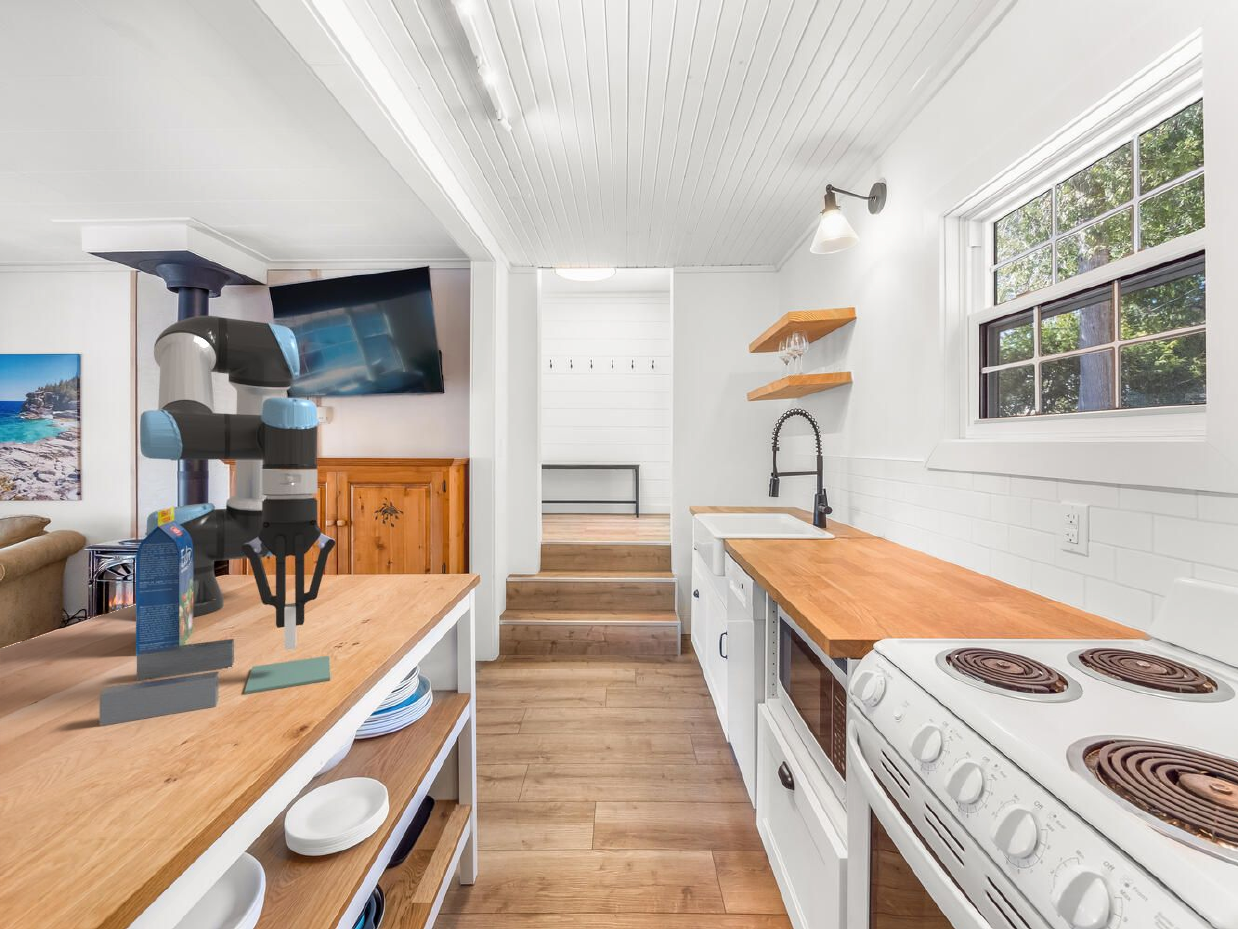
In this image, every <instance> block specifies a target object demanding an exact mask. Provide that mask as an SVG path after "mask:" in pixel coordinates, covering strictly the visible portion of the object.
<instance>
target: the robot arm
mask: <svg viewBox="0 0 1238 929" xmlns="http://www.w3.org/2000/svg"><path fill="white" fill-rule="evenodd" d="M153 348H154V349H153V356H154V360H155V362H156V364H157V365H158V367H159V382H158V383H159V385H158V387H159V388H158V406H157V407H158V408H157V410H146V411H143V412H142V413H141V414H140V421H139V425H140V426H139V440H140V441H139V443H140V452H141V453H140V454H142V456H143V457H145V458H148V459H157V460H170V461H178V460H179V461H180V460H182V461H183V460H185V461H186V460H187V461H188V460H192V461H193V460H195V461H196V460H202V461H203V460H207V461H208V460H227V461H228V460H229V461H230V460H232V461H233V460H235V462H234V463H235V465H234V466H235V467H234V469H235V471H234V494H233V495H232V496H230V497H229V498H227V499H226V504H225V507H226V508H219V509H218V508H216V506H215V505H214V503H212V502H206V503H205V502H204V503H195V504H186V505H180V506H173V507H174V520H175V521H176V522H177V523H178V524H179V525H181V526H182V527H183V528H184V529H185V530H186V531H187V532H188V533H189V534H190V536H191V539H192V542H193V618H194V617H198V616H204V615H207V613H208V614H211V613H214V612H217V611H219V610H221V609H222V607H223V608H224V594H223V592H222V590H221V587H220V585H219V583H218V581H217V578H216V575H215V562H217V561H230V560H231V561H232V560H239V559H240V560H242V559H248V560H249V562H250V566H251V569H252V573H253V576H254V579H255V583H256V587H257V590H258V593H259V597H260V600H261V603H262V605H265V606H267V605H268V606H273V607H274V608H275V625H276V627H277V629H278V628H279V629H280V628H284V651H286V650H294V649H296V648H297V626H303V625H304V623H305V605H306V604H307V603H308V602H311V601H313V600H314V601H315V600H316V599H317V597H318V594H319V590H320V586H321V583H322V579H323V575H324V571H325V568H326V563H327V560H328V557H329V553H331V551H332V549H333V548H334V547H335V545H336V539H335V538H334V537H329V536H327V535H325V534H324V533H322V529H321V528H320V526H319V523H318V499H317V498H316V497H314V495H316V494H317V493H318V425H319V419H318V410H317V408H318V407H317V404H316V403H315V402H314V401H312V400H309V399H303V398H294V397H283V394H284V393H285V392H287V391H289V389H291V387H292V386H291V385H292V380H293V381H295V380H298V379H299V377H300V370H301V368H300V367H301V366H300V355H299V348H298V344H297V339H296V336H295V334H294V332H293V330H292V329H291V328H289V327H287V326H284V325H280V324H274V323H270V322H261V321H253V320H244V319H236V318H229V317H222V316H221V317H220V316H217V315H215V316H214V315H197V316H192V317H188V318H185V319H182V320H179V321H176V322H175V323H173V324H171V325H169V326H168V327H167V328H165V329H164V330H163V331H162V332H160V334H159V336H158V337H157V338H156V340H155V343H154V347H153ZM212 373H218V374H228V383H229V384H230V385H231V386H232V387H233V388H234V389H235V391H236V412H235V413H219V412H218V413H217V412H216V411H215V402H214V388H213V378H212ZM164 509H165V508H164ZM164 509H163V508H161V509H158V510H155V511H153V512H151V513H149V515H148V517H147V519H146V532H145V534H144V535H145V536H146V537H147V536H148V535H149V534H150V533H151V532H152V531H153V530H154V529H155V528H157V527H158V511H160V510H164ZM317 540H318V548H319V549H320V550H319V553H318V557H317V561H316V565H315V568H314V572H313V575H312V579H311V584H310V587H309V591H307V592H305V555H306V554H307V553H308V552H309V551H310V550H311V548H312V547H313V545H314V544H315V543H316V541H317ZM271 556H272V557H273V556H274V557H275V594H274V595H273V593H272V590H271V588H270V584H269V581H268V576H267V573H266V570H265V567H264V563H263V561H262V560H263V559H264V558H267V557H271ZM289 556H290V557H291V556H292V557H294V578H295V579H294V589H295V590H294V592H295V593H294V594H295V595H294V596H295V598H294V599H295V602H293V603H286V602H287V601H286V600H287V599H286V598H287V596H286V594H287V591H286V590H287V589H286V587H287V585H286V580H287V579H286V578H287V577H286V573H287V571H286V570H287V565H286V564H287V557H289ZM203 614H204V615H203ZM134 616H135V618H136V615H134Z"/></svg>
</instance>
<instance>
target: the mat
mask: <svg viewBox="0 0 1238 929" xmlns="http://www.w3.org/2000/svg"><path fill="white" fill-rule="evenodd" d="M330 667H331V665H330V655H324V656H323V655H322V656H318V657H312V658H311V657H310V658H304V659H297V660H289V661H284V662H283V661H282V662H277V663H269V664H263V665H256V666H252V667H251V670H250V671H249V672H250V674H249V676H248V679H247V682H246V685H245V688H244V691H243V692H244V693H243V695H247V694H253V693H259V692H260V693H261V692H265V691H272V690H273V691H274V690H277V689H283V688H290V687H298V686H303V685H309V684H314V683H320V682H327V681H331V671H330V669H331V668H330Z"/></svg>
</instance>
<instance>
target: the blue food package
mask: <svg viewBox="0 0 1238 929" xmlns="http://www.w3.org/2000/svg"><path fill="white" fill-rule="evenodd" d="M174 507H175V506H171V507H167V508H164V510H162V509H159V510H160V511H158V510H157V511H158V527H157V528H155V529H154V530H153V531H152V532H151V533H150V534H149V535H148V536H147V535H146V536H145V537H144V539H143V540H142V541H141V542H140V544H139V545H138V548H137V551H136V555H135V556H136V557H135V616H136V617H135V657H137V654H138V653H139V652H140V651H141V650H147V649H155V648H163V647H171V646H179V645H186V644H185V643H186V642H187V641H188V640H189V639H190V637H191V635H192V634H193V632H194V617H193V542H192V539H191V536H190V534H189V533H188V532H187V531H186V530H185V529H184V528H183V527H182V526H181V525H179V524H178V523H177V522H176V521H175V520H174ZM192 631H193V632H192ZM191 633H192V634H191ZM187 639H188V640H187ZM186 640H187V641H186ZM185 641H186V642H185Z"/></svg>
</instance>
